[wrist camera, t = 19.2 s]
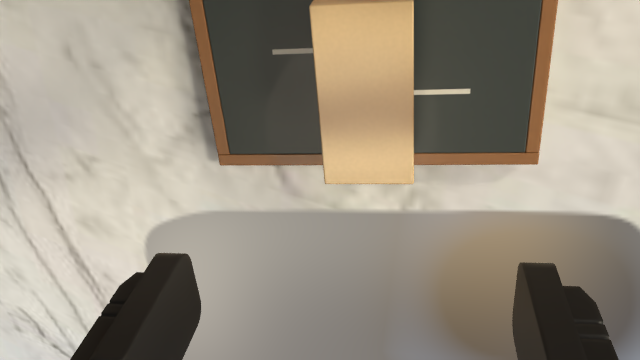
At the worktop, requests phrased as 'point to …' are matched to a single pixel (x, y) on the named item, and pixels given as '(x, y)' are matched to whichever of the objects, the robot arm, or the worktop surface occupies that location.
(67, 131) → the worktop surface
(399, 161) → the eraser
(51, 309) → the worktop surface
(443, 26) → the chalkboard
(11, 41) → the worktop surface
